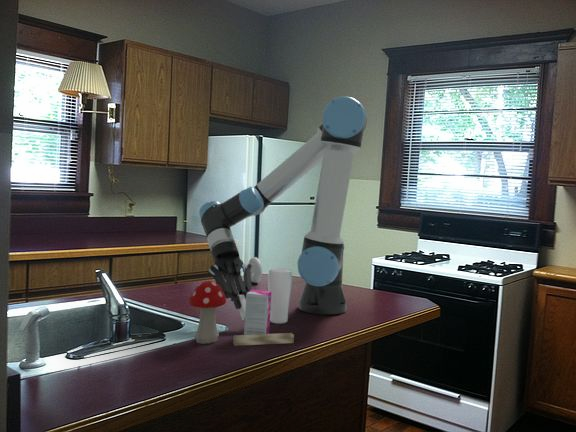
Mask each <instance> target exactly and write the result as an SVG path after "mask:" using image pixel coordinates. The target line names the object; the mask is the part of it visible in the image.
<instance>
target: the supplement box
mask: <svg viewBox="0 0 576 432" xmlns="http://www.w3.org/2000/svg"><path fill="white" fill-rule="evenodd" d="M271 293H272V292H271V291H268V290H259V289H252V290H250V291H249V292H248V293H247V294H246V308H245V321H244V329H243V330H244V331H243V335H254V334H270V324H271V322H270V309H271Z"/></svg>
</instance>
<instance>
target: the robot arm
mask: <svg viewBox="0 0 576 432" xmlns="http://www.w3.org/2000/svg"><path fill="white" fill-rule="evenodd" d="M324 107H325V108H324V110H323V113H322V117H321V118H322V124H321V125H320V126H319V127H317V133H315V134H314V135H313V136H312V137H311V138H310V139H308V140H307V141H306V142H305V143H303V144H302V145H301V146H300V147H299V148H298V149H296V150H295V151H294V152H293V153H292V154H291V155H290V156H289V157H288V158H286V159H284V161H283V162H282V163H280V164H279V165H278V166H276V168H275V169H273V170H272V171H271V172H269V174H267V175H266V176H265V177H264V178H263V179H261V181H259V182H258V183H257V184H256V185H255V186H248V187H247V188H245V189H243V190H241V191H239V192H238V193H236V194H235V195H233V196H232V197H230V198H229V199H227V200H225V201H224V202H219V201H217V200H211V201H209V202H205V203H204V204H202V205H201V206H200V208H199V211H198V213H199V219H200V224H201V226H202V229H203V232H204V234H205V237H206V241H207V243H208V247H209V250H210V253H211V257H212V260H213V263H214V264H213V265H211V266H210V267H209V269H208V274H209V275H210V276H211V277H212V278H213V279H214V282H216V283H217V284H219V285H220V287H221V288H222V291H223V293H224V294H225V297H226V299H230V302H233V305H234V307H235V309H236V310H238V311H239V315H240V318H241V320H242V322H245V308H246V294H247V293H248V292H249V291H250V290H253V287H252V281H251V273H250V270H251V267H252V265H251V264H248V263H247V264H246V263H244V262H243V259H241V257H240V253H239V249H238V246H237V244H236V240H235V238H234V236H233V233H232V230H231V227H234V226H235V225H237V224H238V223H240V222H242V221H244V220H246V219H247V218H250V217H255V216H258V215H260V214H262V213H264V211H265V210H266V208H267V207H269V206H271V204H272V203H274V202H275V200H277V199H278V198H279V197H280V196H282V195H283V194H284V193H286V191H287V190H289V188H291V187H292V186H294V185H295V184H296V183H297V182H298V181H300V180H301V179H302V178H303V177H305V175H307V174H308V173H309V172H311V171H312V170H313V169H314V168H315V167H316V166H318V165H319V164H320V163H321V168H320V173H319V180H318V185H317V190H316V191H317V192H316V196H315V202H314V208H313V215H312V221H311V226H310V231H309V232H307V233H305V234H304V235H303V236H304V237H303V242H302V248H301V253H300V255H299V256H298V257H299V258H298V259H297V271H298V275H299V276H300V277H301V279H302V280H303V281H304V282H305V283H304V286H303V289H302V292H301V295H300V297H299V300H298V310H300V311H302V312H304V313H309V314H314V315H315V314H316V315H326V316H327V315H338V314H343V313H346V312H347V307H348V303H347V300H346V296H345V292H344V290H343V289H344V288H343V267H344V250H345V245H344V244H345V243H344V242H345V241H344V239H343V238H342V237H341V231H342V224H343V219H344V213H345V209H346V204H347V203H346V202H347V195H348V191H349V186H350V179H351V174H352V169H353V161H354V156H355V154H356V153H357V152H359V150H361V147H362V141H363V136H364V132H365V130H366V127H367V122H368V121H367V119H368V118H367V115H366V109H365V107H364V106H363V104H362V103H361V102H360V101H359V100H357V99H355V98H354V97H350V96H338V97H335V98H334V99H332V100H330V102H328V104H327V105H326V106H324ZM241 269H242V272H243V278H242V273H241Z"/></svg>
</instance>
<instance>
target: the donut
mask: <svg viewBox="0 0 576 432" xmlns="http://www.w3.org/2000/svg"><path fill="white" fill-rule="evenodd" d="M248 264H251V265H252V267H251V270H250V273H251V283H253V284H257V283H259V282H260V281H261V279H262V276H263V266H262V261H261V259H259V258H258V257H256V256H254V257H253V256H252V257H251V258H250V259H249V260H248V263H247V265H248Z"/></svg>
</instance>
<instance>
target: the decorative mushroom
mask: <svg viewBox="0 0 576 432" xmlns="http://www.w3.org/2000/svg"><path fill="white" fill-rule="evenodd" d="M226 303H227V298H226V297H225V294H224V293H223V291H222V288H221V287H220V285H219V284H217V283H216V281H213V280H205V281H202V282H201V283H198V285H197V286H196V287H195V289H194V290H193V292H192V294H191V295H190V298H189V304H190V306H191V307H194V308H197V309H199V321H198V326H197V330H196V333H195V334H194V338H195V341H196V343H197V344H202V345H203V344H205V345H206V343H207V344H212V342H213V343H216V342H217V341H218V340H219V336H220V333H219V330H218V328H217V321H216V319H217V318H216V308H219V307H221V306H224V305H225V304H226Z"/></svg>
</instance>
